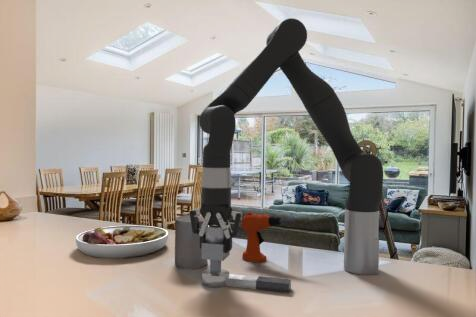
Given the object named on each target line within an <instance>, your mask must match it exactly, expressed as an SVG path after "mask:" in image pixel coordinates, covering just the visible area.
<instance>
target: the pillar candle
mask: <svg viewBox="0 0 476 317" xmlns="http://www.w3.org/2000/svg"><path fill="white" fill-rule="evenodd" d="M198 219H199V225H200V229H201V226H202V224H203V221H204V218H203V217H202V215H201V214H200V216H199V217H198ZM174 225H175V227H174V229H175V230H174V265H175V266H176V267H177V268H180V269H186V268H188V269H189V270H190V269H191V268H192V269H193V268H194V269H200V268H203V267H205V266H207V265H208V259H202V249H201V248H200V236H199V235H198V234H196V233H195V234H194V233H193V232H192V226H191V219H190V214H187V215H186V214H185V215H180V216H176V217H175V222H174Z"/></svg>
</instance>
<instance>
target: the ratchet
mask: <svg viewBox="0 0 476 317" xmlns="http://www.w3.org/2000/svg"><path fill="white" fill-rule="evenodd" d="M201 284H202V286H204V285H205V286H204V287H208V288H222V287H232V288H233V287H234V288H242V289H243V288H244V289H251V290H256V291H257V290H258V291H267V292H275V293H282V294H283V293H284V294H290V291H291V288H292V287H291V286H292V280H291V278H282V277H281V278H280V277H271V276H263V275H261V276H260V275H259V276H251V275H242V274H231V273H230V271H229V270H226V269H225V268H222V261H218V260H209V268H208V269H205V270H203V271H202V272H201Z"/></svg>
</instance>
